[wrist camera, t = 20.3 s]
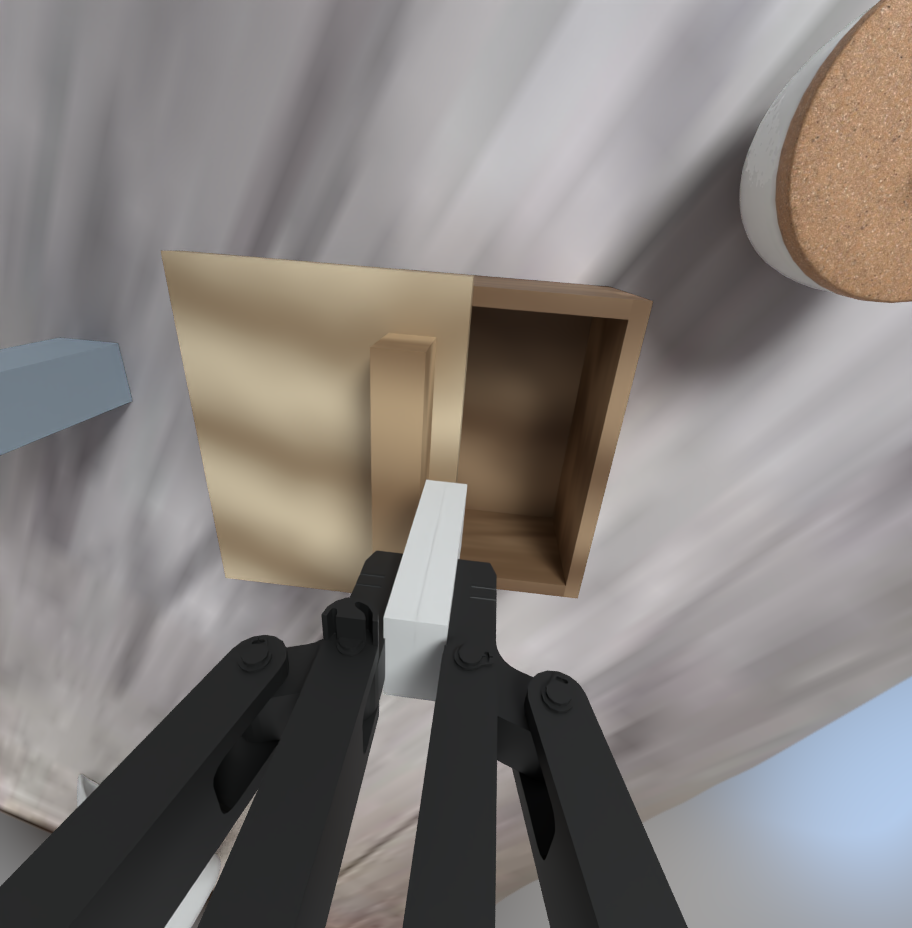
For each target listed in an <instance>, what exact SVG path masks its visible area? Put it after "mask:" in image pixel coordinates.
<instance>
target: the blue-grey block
mask: <svg viewBox="0 0 912 928" xmlns="http://www.w3.org/2000/svg"><path fill="white" fill-rule="evenodd" d="M131 401H132V397H131V393H130V389H129V385H128V381H127V377H126V373H125V369H124V365H123V361H122V357H121V354H120V350H119V346H118V343H110V342H100V341H90V340H80V339H70V338H55V339H50V340H45V341H40V342H35V343H30V344H25V345H20V346H15V347H10V348H5V349H0V455H2V454H5V453H7V452H9V451H12V450H14V449H17V448H19V447H22V446H24V445H26V444H29V443H31V442H34V441H36V440H39V439H41V438H44V437H46V436H48V435H51V434H53V433H56V432H58V431H61V430H63V429H65V428H68V427H70V426H73V425H75V424H78V423H80V422H82V421H85V420H87V419H90V418H92V417H95V416H97V415H99V414H102V413H104V412H107V411H109V410H112V409H114V408H117V407H119V406H121V405H124V404H126V403H129V402H131Z"/></svg>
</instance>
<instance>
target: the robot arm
mask: <svg viewBox="0 0 912 928" xmlns="http://www.w3.org/2000/svg"><path fill="white" fill-rule="evenodd" d="M466 493H467V484H460V483H451V482H442V481H433V480H426V482H425V486H424V489H423V492H422V495H421V498H420V502H419V505H418V508H417V511H416V515H415V518H414V521H413V524H412V527H411V531H410V534H409V537H408V540H407V544H406V547H405V550H404V553H394V552H386V551H378V550H377V551H375V552H374V553H373V554H372V555H371V556H370V557H369V558H368V559H366V560H365V563H364V565H363V568H362V570H361V572H360V575H359V577H358V579H357V582H356V585H355V586H354V589H353V591H352V594H351V596H350V598H344V599H341V600H338V601H336V602H334V603H332V604H331V605H329V606H328V607H327V608H326V609H325V611H324V612H323V613H322V626H323V637H324V639H322V640H319V641H317V642H315V643H311V644H307V645H300V646H294V647H287V648H286V647H285V645H284V643H283V641H281V640H280V639H278V638H277V637H275V636H269V635H261V636H254V637H251V638H249V639H247V640H244V641H242V642H241V643H239V644H238V645H237V646H236V647H234V648H233V649H232V650H231V651H230V652H229V653H228V654H227V655H226V656H225V657H224V658H223V659H222V660H221V661H220V662H219V663H218V664H217V665H216V666H215V667H214V668H213V669H212V670H211V671H210V672H209V673H208V674H207V675H206V676H205V677H204V678H203V680H202V681H201V682H200V683H199V684H198V685H197V686H196V687H195V688H194V689H193V690H192V691H191V692H190V693H189V694H188V695H187V696H186V697H185V698H184V699H183V700H182V701H181V702H180V703H179V704H178V705H177V706H176V707H175V708H174V709H173V710H172V711H171V712H170V713H169V714H168V715H167V716H166V717H165V718H164V719H163V720H162V722H161V723H160V724H159V725H158V726H157V727H156V728H155V729H154V730H153V731H152V732H151V733H150V734H149V735H148V736H147V737H146V738H145V739H144V740H143V741H142V742H141V743H140V744H139V745H138V746H137V747H136V748H135V749H134V750H133V751H132V752H131V753H130V754H129V755H128V756H127V757H126V758H125V759H124V760H123V761H122V762H121V763H120V765H119V766H118V767H117V768H116V769H115V770H114V771H113V772H112V773H111V774H110V775H109V776H108V777H107V778H106V779H105V780H104V781H103V782H102V783H101V784H100V785H99V786H98V787H97V788H96V789H95V790H94V791H93V792H92V793H91V794H90V795H89V796H88V797H87V798H86V799H85V800H84V801H83V802H82V803H81V804H80V805H79V807H78V808H77V809H76V810H75V811H74V812H73V813H72V814H71V815H70V816H69V817H68V818H67V819H66V820H65V821H64V822H63V823H62V824H61V825H60V826H59V827H58V828H57V829H56V830H55V831H54V832H53V833H52V834H51V835H50V836H49V837H48V838H47V839H46V840H45V841H44V842H43V843H42V844H41V846H40V847H39V848H38V849H37V850H36V851H35V852H34V853H33V854H32V855H31V856H30V857H29V858H28V859H27V860H26V861H25V862H24V863H23V864H22V865H21V866H20V867H19V868H18V869H17V870H16V871H15V872H14V873H13V874H12V875H11V876H10V877H9V878H8V879H7V880H6V881H5V882H4V883H3V885H1V886H0V928H165V926H166V925H167V923H168V922H169V920H170V919H171V917H172V916H173V914H174V913H175V911H176V910H177V908H178V907H179V905H180V904H181V902H182V901H183V900H184V898H185V897H186V895H187V894H188V892H189V891H190V889H191V888H192V886H193V885H194V883H195V882H196V880H197V879H198V877H199V876H200V874H201V873H202V871H203V870H204V868H205V867H206V865H207V864H208V862H209V861H210V860H211V858H212V857H213V855H214V854H215V852H216V851H217V849H218V848H219V846H220V845H221V843H222V842H223V840H224V839H225V837H226V836H227V834H228V833H229V831H230V830H231V828H232V827H233V825H234V824H235V823H236V821H237V820H238V818H239V817H240V815H241V814H242V812H243V811H244V809H245V808H246V806H247V805H248V803H249V802H250V800H251V799H252V797H253V796H254V794H255V793H256V791H257V790H258V791H257V793H256V795H255V798H254V800H253V802H252V805H251V807H250V809H249V811H248V814H247V816H246V818H245V821H244V823H243V825H242V827H241V830H240V832H239V834H238V836H237V839H236V841H235V843H234V846H233V848H232V850H231V852H230V855H229V857H228V859H227V862H226V864H225V866H224V868H223V871H222V873H221V875H220V878H219V880H218V882H217V884H216V887H215V889H214V891H213V893H212V896H211V898H210V900H209V903H208V905H207V907H206V909H205V912H204V914H203V916H202V919H201V921H200V923H199V925H198V928H325V926H326V922H327V918H328V914H329V910H330V906H331V902H332V898H333V894H334V890H335V886H336V883H337V879H338V875H339V871H340V867H341V863H342V859H343V855H344V851H345V847H346V843H347V839H348V835H349V831H350V827H351V823H352V819H353V815H354V811H355V808H356V804H357V800H358V796H359V792H360V788H361V784H362V780H363V776H364V772H365V768H366V764H367V760H368V756H369V752H370V748H371V744H372V740H373V737H374V733H375V729H376V725H377V721H378V717H379V700H380V696H381V692H382V688H383V685H384V694H386V695H394V696H401V697H408V698H416V699H423V700H431V701H435V708H434V715H433V722H432V728H431V735H430V742H429V749H428V756H427V763H426V770H425V777H424V784H423V790H422V797H421V804H420V811H419V818H418V825H417V832H416V839H415V846H414V852H413V859H412V866H411V873H410V880H409V887H408V894H407V901H406V908H405V914H404V921H403V928H495V887H496V796H497V760H498V761H500V762H502V763H503V764H505V765H507V766H509V767H511V768H512V770H513V774H514V778H515V782H516V786H517V791H518V795H519V799H520V803H521V807H522V811H523V816H524V820H525V824H526V828H527V832H528V836H529V841H530V845H531V849H532V853H533V857H534V861H535V866H536V870H537V874H538V878H539V882H540V886H541V891H542V895H543V899H544V903H545V907H546V911H547V916H548V919H549V923H550V928H688V927H687V925H686V923H685V920H684V918H683V916H682V913H681V911H680V909H679V907H678V904H677V902H676V900H675V897H674V895H673V893H672V891H671V888H670V886H669V884H668V881H667V879H666V877H665V875H664V872H663V870H662V868H661V865H660V863H659V861H658V858H657V856H656V854H655V852H654V850H653V847H652V845H651V842H650V840H649V838H648V836H647V833H646V831H645V829H644V826H643V824H642V822H641V820H640V817H639V815H638V813H637V810H636V808H635V806H634V803H633V801H632V799H631V797H630V794H629V792H628V790H627V787H626V785H625V783H624V781H623V778H622V776H621V774H620V771H619V769H618V767H617V765H616V762H615V760H614V758H613V755H612V753H611V751H610V749H609V746H608V744H607V742H606V739H605V737H604V735H603V732H602V730H601V728H600V726H599V723H598V721H597V719H596V716H595V714H594V712H593V710H592V707H591V705H590V703H589V700H588V698H587V696H586V694H585V692H584V691H583V689H582V688H581V686H580V685H579V684H578V683H577V682H576V681H575V680H574V679H572V678H571V677H570V676H568V675H565V674H563V673H561V672H557V671H544V672H541V673H538V674H537V675H536V676H534V677H531V676H529V675H527V674H525V673H522V672H520V671H518V670H516V669H514V668H513V667H511V666H510V665H509V664H508V663H506V662H505V661H504V660H503V658H502V657H501V656H500V654H499V652H498V649H497V646H496V588H497V575H496V573H495V571H494V569H493V567H492V565H491V564H490V563H488V562H479V561H471V560H462V559H460V551H461V543H462V533H463V523H464V513H465V503H466ZM258 788H259V789H258Z"/></svg>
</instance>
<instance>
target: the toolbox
mask: <svg viewBox="0 0 912 928" xmlns="http://www.w3.org/2000/svg"><path fill="white" fill-rule="evenodd" d="M403 270H405V269H403ZM414 271H417V270H414ZM426 272H429V271H426ZM438 273H441V272H438ZM450 274H453V273H450ZM462 275H465V274H462ZM652 304H653V301H651V300H648V299H645V298H642V297H639V296H636V295H633V294H630V293H627V292H624V291H621V290H618V289H615V288H612V287H607V286H595V285H583V284H571V283H560V282H548V281H536V280H524V279H512V278H500V277H488V276H477V275H474V287H473V298H472V310H471V322H470V334H469V346H468V358H467V370H466V381H465V393H464V405H463V417H462V429H461V441H460V453H459V464H458V476H457V483H460V484H467V493H466V503H465V513H464V523H463V533H462V543H461V551H460V559H462V560H471V561H479V562H488V563H490V564H491V565H492V567H493V569H494V571H495V573H496V575H497V588H496V589H502V590H510V591H519V592H527V593H536V594H544V595H553V596H561V597H570V598H578V595H579V591H580V587H581V583H582V579H583V575H584V571H585V567H586V563H587V559H588V555H589V552H590V548H591V544H592V540H593V536H594V532H595V528H596V524H597V520H598V516H599V512H600V508H601V504H602V500H603V496H604V493H605V489H606V485H607V481H608V477H609V473H610V469H611V465H612V461H613V457H614V453H615V449H616V445H617V441H618V438H619V434H620V430H621V426H622V422H623V418H624V414H625V410H626V406H627V402H628V398H629V394H630V390H631V386H632V382H633V379H634V375H635V371H636V367H637V363H638V359H639V355H640V351H641V347H642V343H643V339H644V335H645V331H646V327H647V324H648V320H649V316H650V312H651V308H652Z"/></svg>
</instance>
